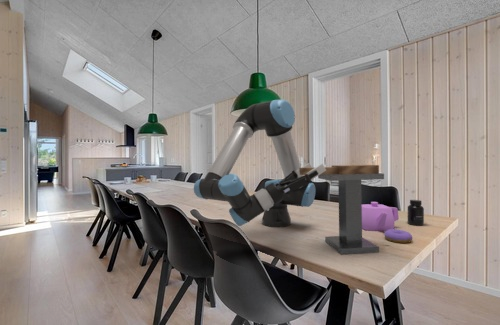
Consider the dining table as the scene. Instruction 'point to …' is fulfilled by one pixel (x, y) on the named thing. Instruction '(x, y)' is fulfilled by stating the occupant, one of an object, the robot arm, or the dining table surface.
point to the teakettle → (378, 217)
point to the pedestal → (350, 214)
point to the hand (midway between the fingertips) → (317, 166)
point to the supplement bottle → (415, 213)
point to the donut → (398, 236)
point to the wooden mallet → (346, 169)
